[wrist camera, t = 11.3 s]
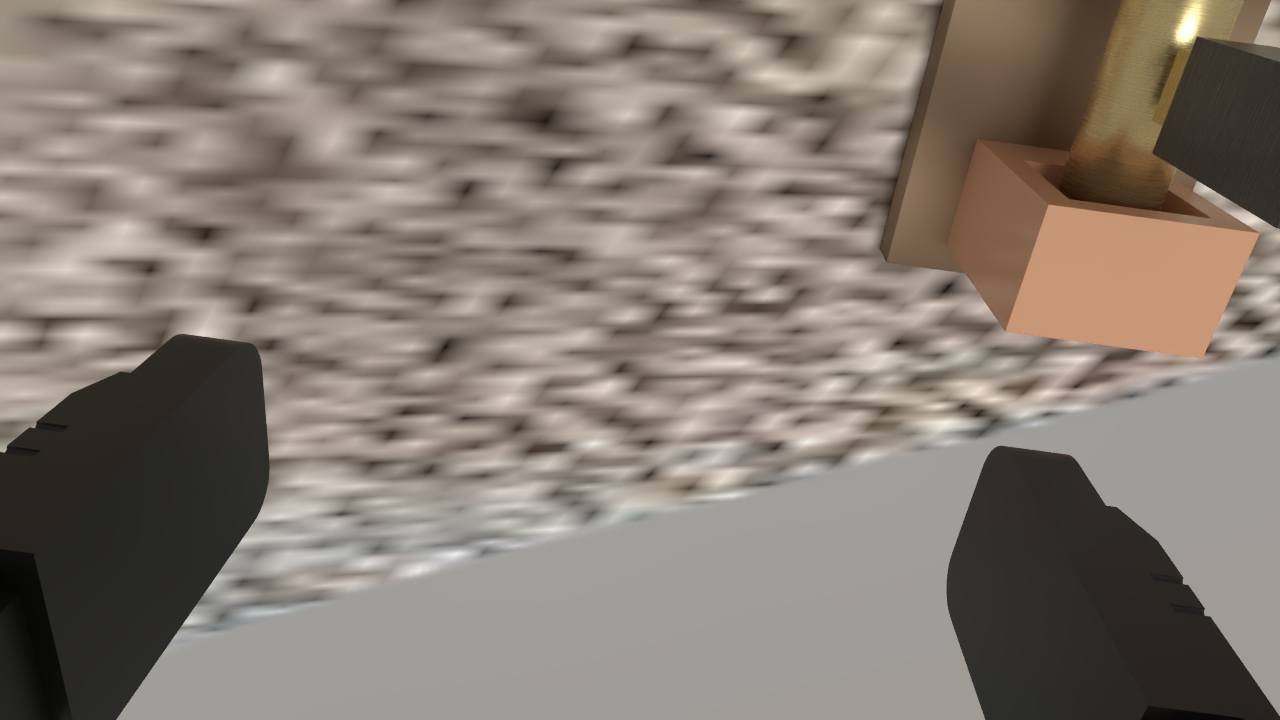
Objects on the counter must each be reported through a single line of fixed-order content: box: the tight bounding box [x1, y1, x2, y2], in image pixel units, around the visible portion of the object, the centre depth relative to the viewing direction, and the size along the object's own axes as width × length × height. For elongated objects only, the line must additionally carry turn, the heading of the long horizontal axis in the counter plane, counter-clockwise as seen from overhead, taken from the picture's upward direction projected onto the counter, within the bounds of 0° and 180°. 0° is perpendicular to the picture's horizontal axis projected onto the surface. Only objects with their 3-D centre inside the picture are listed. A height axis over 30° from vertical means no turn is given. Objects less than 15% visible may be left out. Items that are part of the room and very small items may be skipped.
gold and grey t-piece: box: [1057, 0, 1280, 229], centre depth 23 cm, size 13×3×11 cm, turn 173°
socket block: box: [946, 139, 1260, 358], centre depth 30 cm, size 4×6×8 cm, turn 83°
